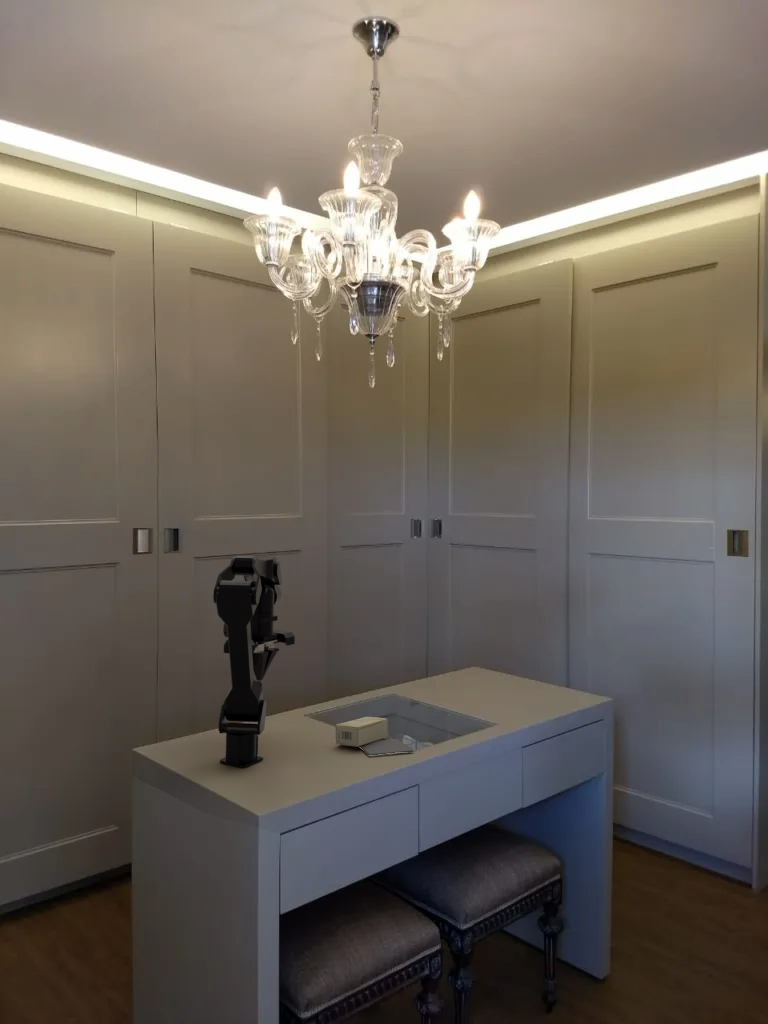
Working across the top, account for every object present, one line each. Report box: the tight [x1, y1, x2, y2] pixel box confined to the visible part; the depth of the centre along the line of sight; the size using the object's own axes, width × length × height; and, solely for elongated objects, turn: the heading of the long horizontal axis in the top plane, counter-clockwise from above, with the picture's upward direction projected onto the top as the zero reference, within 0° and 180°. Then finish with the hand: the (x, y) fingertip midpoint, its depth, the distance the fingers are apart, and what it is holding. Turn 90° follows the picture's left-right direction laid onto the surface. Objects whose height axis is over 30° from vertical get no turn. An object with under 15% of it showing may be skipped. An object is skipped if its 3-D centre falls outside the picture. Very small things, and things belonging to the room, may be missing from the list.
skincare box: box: [335, 716, 389, 748], centre depth 173 cm, size 6×4×12 cm
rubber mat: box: [358, 738, 414, 756], centre depth 169 cm, size 10×9×1 cm
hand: (259, 680), depth 175 cm, fingers closed
